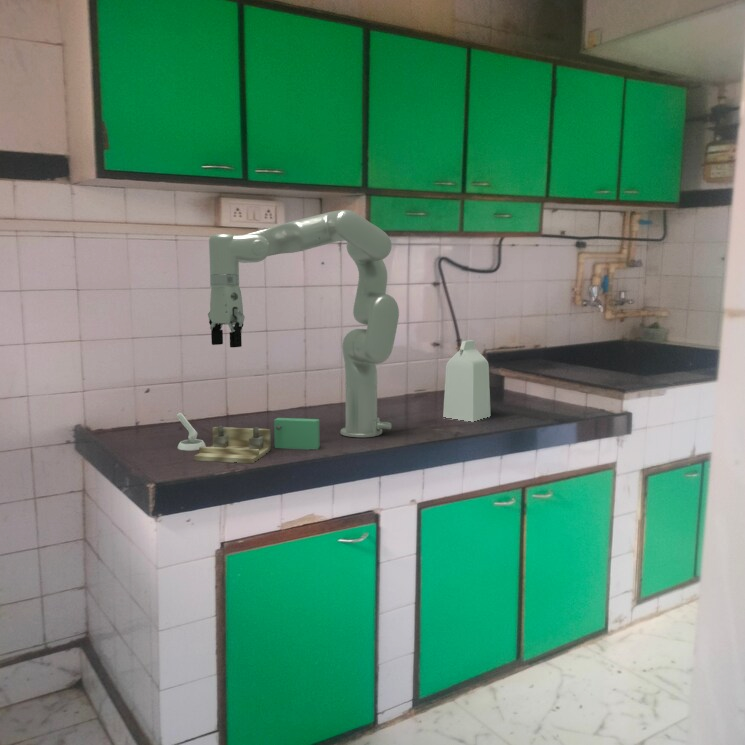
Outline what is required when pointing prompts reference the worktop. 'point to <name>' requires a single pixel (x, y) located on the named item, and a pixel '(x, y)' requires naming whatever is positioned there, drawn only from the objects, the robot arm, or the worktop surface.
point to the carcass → (236, 445)
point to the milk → (467, 385)
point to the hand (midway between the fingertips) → (226, 345)
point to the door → (296, 433)
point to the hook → (192, 442)
